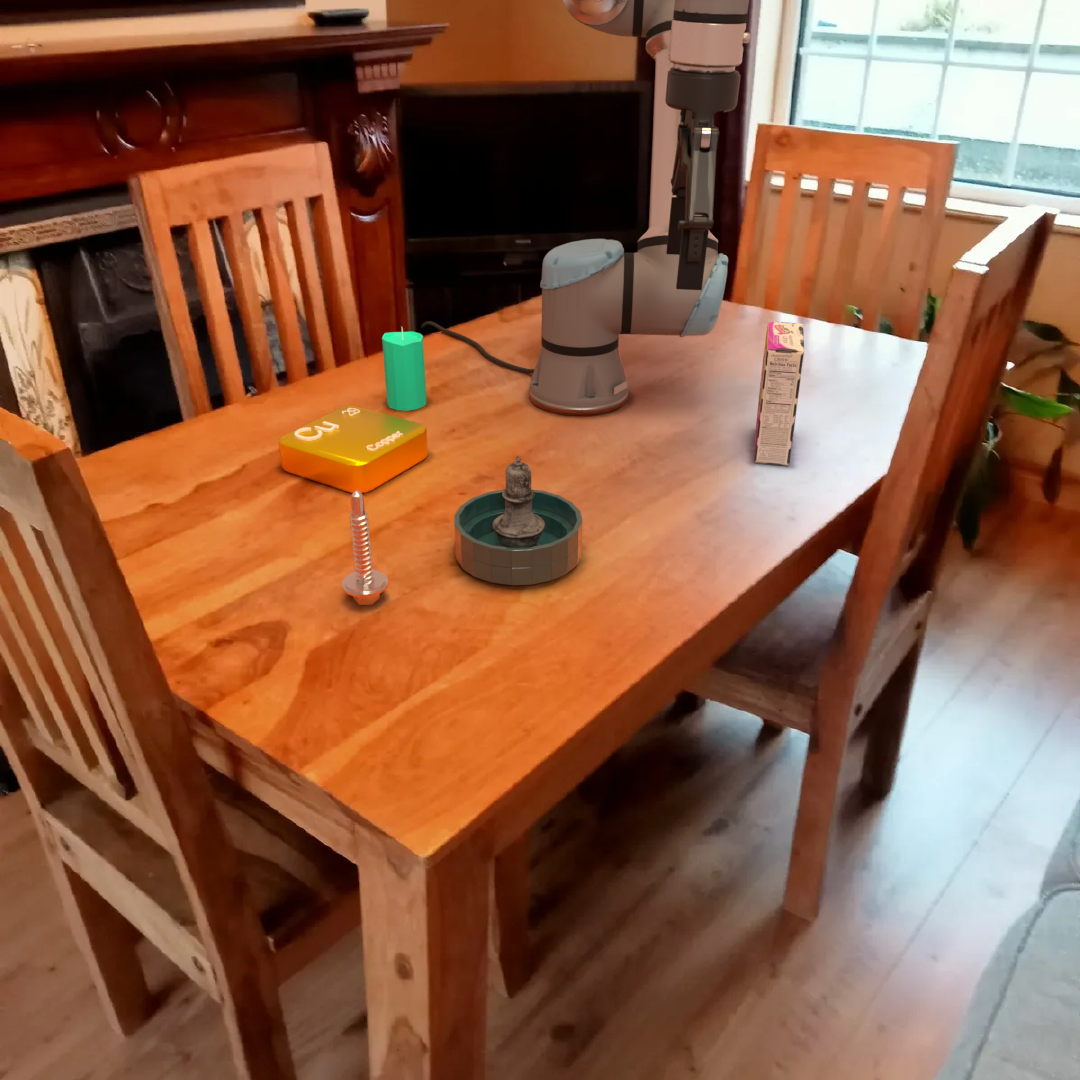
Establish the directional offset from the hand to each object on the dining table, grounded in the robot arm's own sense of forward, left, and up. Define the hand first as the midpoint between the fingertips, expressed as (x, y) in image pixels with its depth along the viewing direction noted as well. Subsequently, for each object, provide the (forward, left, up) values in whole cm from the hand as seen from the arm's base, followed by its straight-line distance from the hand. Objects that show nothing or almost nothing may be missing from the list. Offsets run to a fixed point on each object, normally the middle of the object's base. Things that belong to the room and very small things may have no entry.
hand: (682, 270), depth 116 cm
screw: (-16, -40, -28) cm, 52 cm away
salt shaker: (-7, -24, -28) cm, 37 cm away
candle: (-46, +5, -28) cm, 54 cm away
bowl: (-7, -24, -28) cm, 38 cm away
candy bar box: (+7, +19, -28) cm, 35 cm away
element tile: (-39, -15, -28) cm, 50 cm away
